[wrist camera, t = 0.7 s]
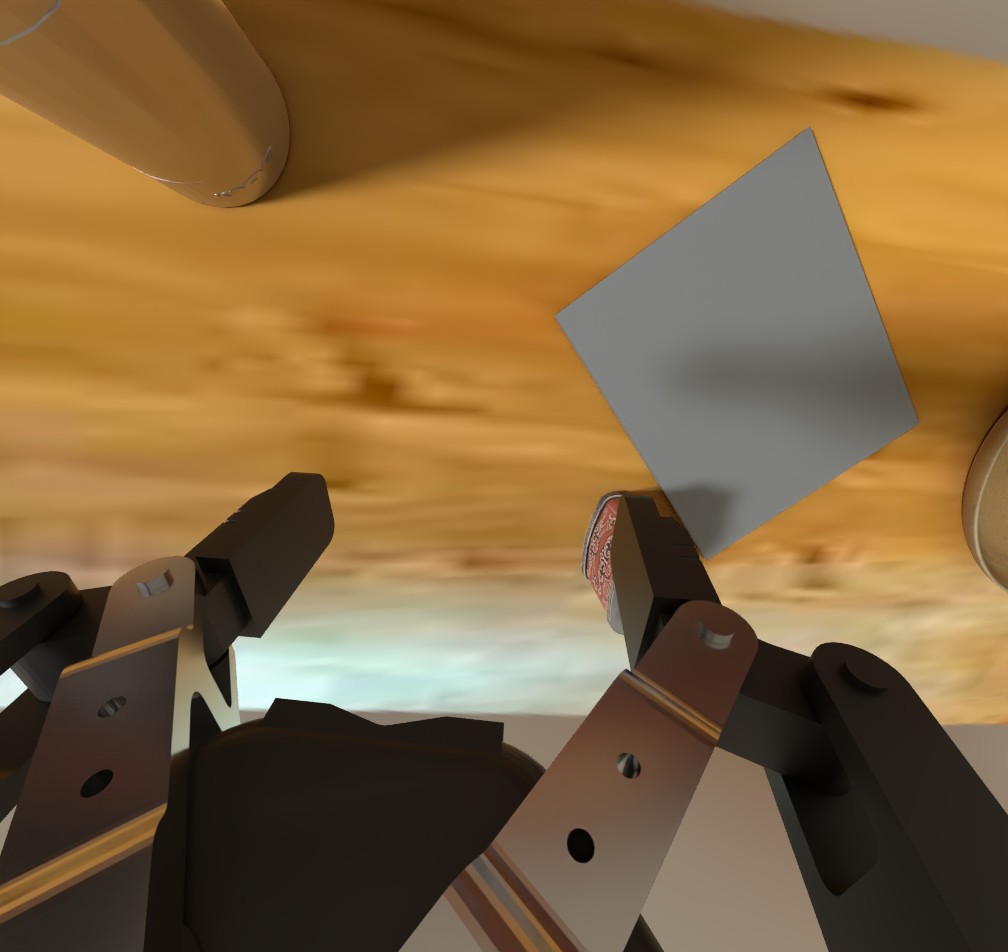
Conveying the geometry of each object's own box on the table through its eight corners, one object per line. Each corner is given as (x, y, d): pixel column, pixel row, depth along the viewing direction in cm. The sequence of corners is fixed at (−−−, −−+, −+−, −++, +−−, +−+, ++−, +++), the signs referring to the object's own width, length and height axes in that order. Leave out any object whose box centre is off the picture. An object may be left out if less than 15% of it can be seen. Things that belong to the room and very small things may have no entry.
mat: (554, 316, 29) (555, 315, 29) (802, 131, 27) (810, 126, 27) (703, 556, 36) (707, 560, 36) (912, 422, 34) (919, 423, 34)
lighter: (611, 581, 36) (663, 663, 27) (574, 576, 36) (613, 658, 26) (636, 495, 34) (702, 550, 24) (597, 488, 34) (649, 543, 24)
